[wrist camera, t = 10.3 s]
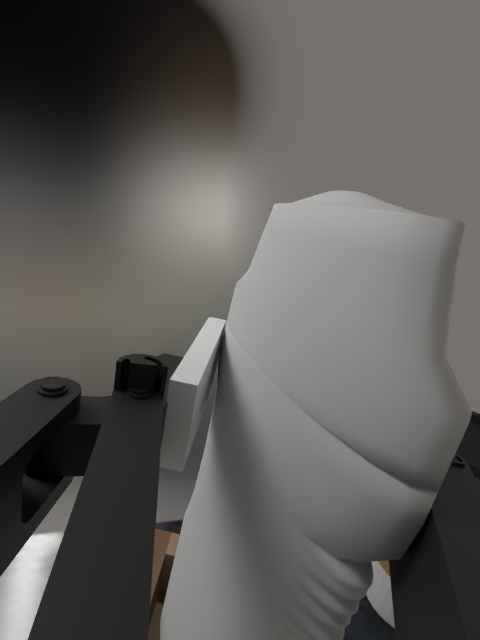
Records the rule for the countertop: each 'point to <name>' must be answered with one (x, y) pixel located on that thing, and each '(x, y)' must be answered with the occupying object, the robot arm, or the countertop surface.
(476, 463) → the coffee cup
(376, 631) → the countertop surface
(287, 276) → the tall pale column
